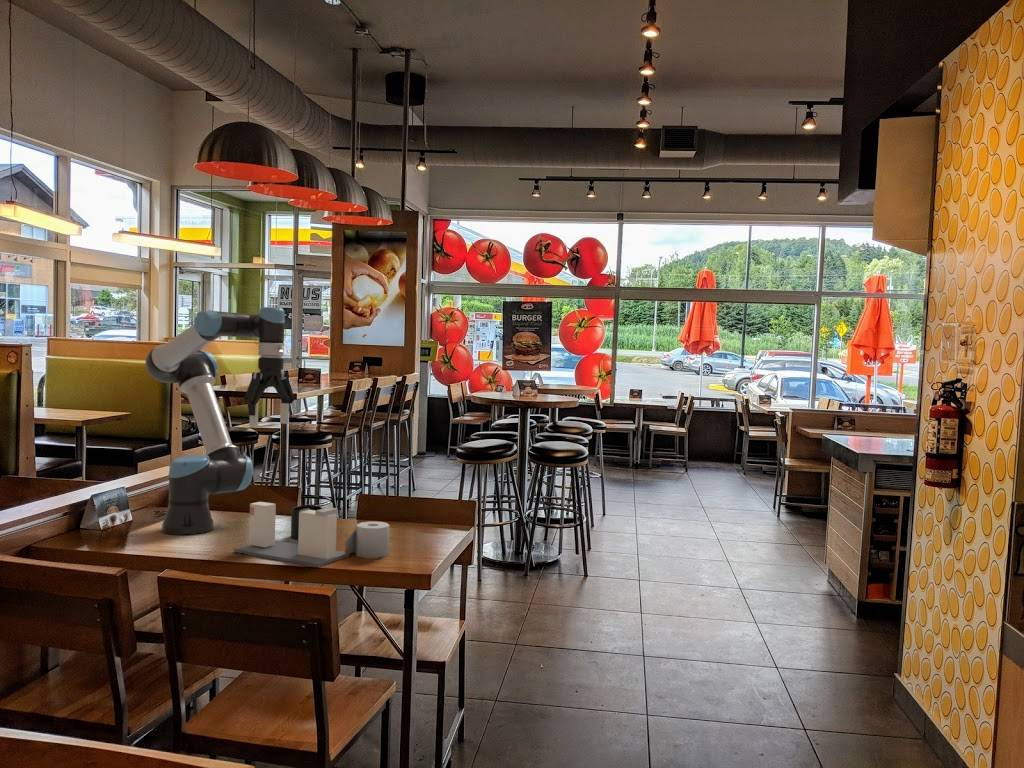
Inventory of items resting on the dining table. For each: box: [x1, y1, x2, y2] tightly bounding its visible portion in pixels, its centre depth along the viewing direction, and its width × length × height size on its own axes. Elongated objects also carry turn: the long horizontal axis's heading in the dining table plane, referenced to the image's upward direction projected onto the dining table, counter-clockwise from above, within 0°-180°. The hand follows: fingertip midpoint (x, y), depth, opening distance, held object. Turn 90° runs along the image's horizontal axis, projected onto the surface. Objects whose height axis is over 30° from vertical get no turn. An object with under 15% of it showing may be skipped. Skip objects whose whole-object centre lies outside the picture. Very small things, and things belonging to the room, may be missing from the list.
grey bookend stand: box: [233, 507, 351, 568], centre depth 219 cm, size 30×14×14 cm, turn 65°
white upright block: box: [248, 501, 277, 547], centre depth 224 cm, size 6×4×12 cm
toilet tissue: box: [344, 521, 390, 559], centre depth 222 cm, size 9×13×9 cm
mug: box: [290, 505, 324, 541], centre depth 241 cm, size 9×12×9 cm
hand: (269, 425), depth 240 cm, fingers open, 13 cm apart
